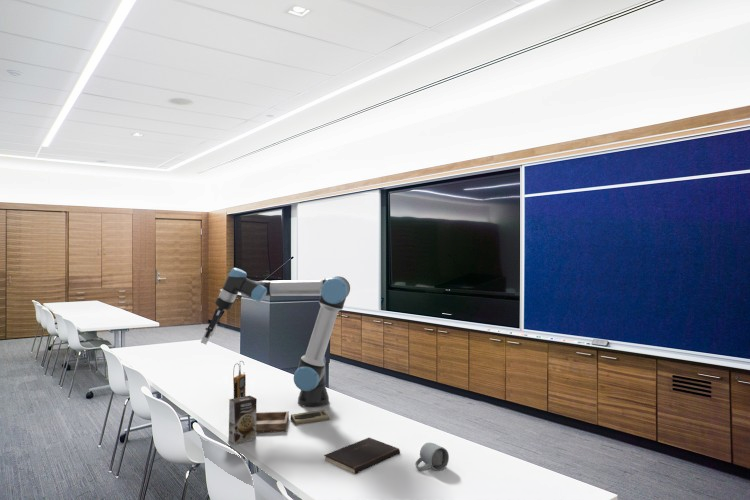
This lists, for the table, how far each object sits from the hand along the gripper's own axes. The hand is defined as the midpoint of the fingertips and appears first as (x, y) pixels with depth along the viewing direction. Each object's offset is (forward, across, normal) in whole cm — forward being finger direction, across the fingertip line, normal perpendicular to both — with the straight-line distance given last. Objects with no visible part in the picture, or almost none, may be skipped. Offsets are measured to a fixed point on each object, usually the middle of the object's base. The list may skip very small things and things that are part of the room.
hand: (206, 339), depth 227 cm
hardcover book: (-4, +67, +72) cm, 98 cm away
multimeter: (+23, -4, +31) cm, 38 cm away
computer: (+7, +26, +57) cm, 63 cm away
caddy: (+14, +30, +41) cm, 53 cm away
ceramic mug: (-15, +79, +91) cm, 122 cm away
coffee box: (+17, +44, +32) cm, 57 cm away
